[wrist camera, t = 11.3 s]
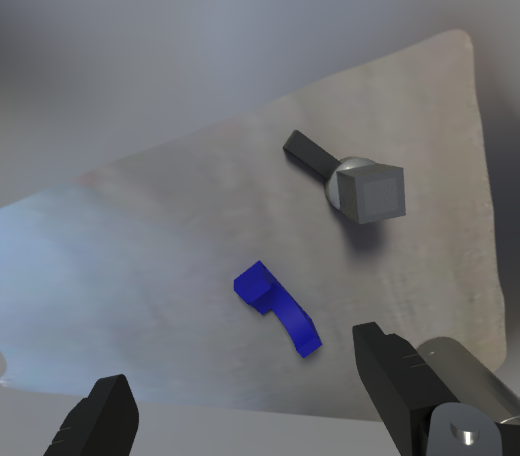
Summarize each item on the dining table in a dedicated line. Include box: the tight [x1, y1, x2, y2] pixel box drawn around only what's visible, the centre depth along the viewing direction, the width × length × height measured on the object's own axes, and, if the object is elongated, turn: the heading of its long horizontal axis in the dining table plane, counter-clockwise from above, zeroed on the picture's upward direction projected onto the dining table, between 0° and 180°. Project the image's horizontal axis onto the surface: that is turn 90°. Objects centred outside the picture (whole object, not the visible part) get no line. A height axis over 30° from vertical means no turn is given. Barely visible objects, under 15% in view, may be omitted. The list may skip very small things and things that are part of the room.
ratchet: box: [283, 130, 376, 211], centre depth 37 cm, size 14×7×6 cm, turn 56°
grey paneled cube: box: [336, 163, 406, 225], centre depth 35 cm, size 5×5×6 cm
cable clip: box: [234, 260, 322, 358], centre depth 41 cm, size 12×4×6 cm, turn 39°
